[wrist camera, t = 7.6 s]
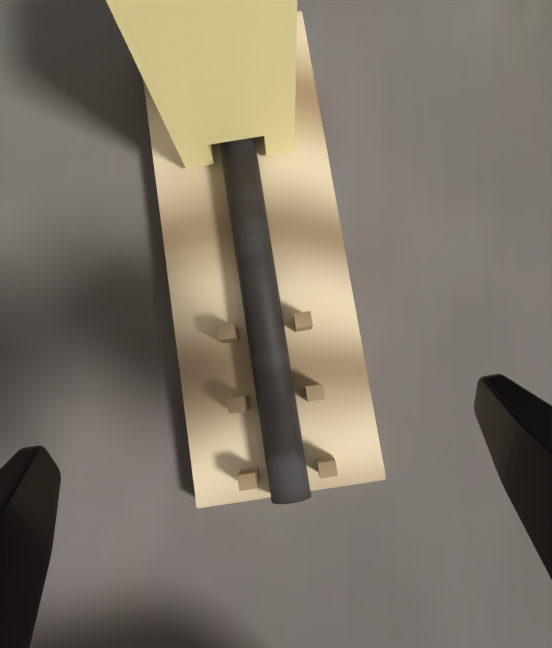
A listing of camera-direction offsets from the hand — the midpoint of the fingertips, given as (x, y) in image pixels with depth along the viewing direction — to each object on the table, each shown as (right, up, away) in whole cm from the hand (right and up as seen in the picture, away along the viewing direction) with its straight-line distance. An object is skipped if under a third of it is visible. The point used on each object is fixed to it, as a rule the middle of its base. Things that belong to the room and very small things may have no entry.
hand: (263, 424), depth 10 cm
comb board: (-1, +6, +13) cm, 14 cm away
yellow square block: (-2, +12, +12) cm, 17 cm away
